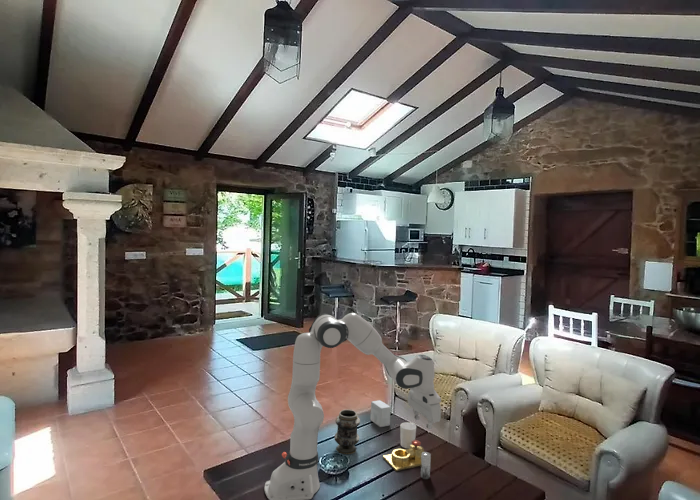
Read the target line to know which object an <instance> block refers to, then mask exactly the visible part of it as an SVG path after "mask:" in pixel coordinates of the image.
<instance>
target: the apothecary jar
mask: <svg viewBox="0 0 700 500" xmlns="http://www.w3.org/2000/svg"><path fill="white" fill-rule="evenodd" d="M335 424H336V425H337V430H336V431H337V432H336V433H334V437H333V438H334V441H335V443H336V444H337V446H336V448H335V450H336V451H337V452H338V453H340V454H342V455H353V454H355V453H356V452H357V447H356V445H357V444H358V443H359V442H360V436H359V434H358V426H360V424H361V419H360V418H359V416H358V413H357V412H356V411H355V410H353V409H342V410H341V411H339V414H338V415H337V416H336V418H335Z"/></svg>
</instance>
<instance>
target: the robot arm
mask: <svg viewBox="0 0 700 500" xmlns="http://www.w3.org/2000/svg"><path fill="white" fill-rule="evenodd" d="M346 341H348V342H350V343H351V344H352V345H353V346H354V347H355V348H356V349H357V350H359V352H361V353H363V354H364V355H367V356H370V355H373V356H374V357H375V358H376V359H377V360H378V361H379V362H380V363H382V365H383V366H384V368H385V372H386V373H387V375H388V376H389V377H390V378H391V379H392V380H393V381H394V383H395V384H396V385H397V386H398V387H399V388H400V389H404V390H407V389H409V391H408V397H407V404H408V406H409V407H411V408H412V411H413V415H414V419H415V420H416V421H419V420H420V416H422V417H424V418H425V419H427V422H428V423H426V428H427V430H432V428H433V424H434V423H439V422H440V421H441V416H442V413H441V412H442V409H441V404H440V403H441V402H442V397H441V396H440V395H439V394H438V392H437V391H436V390H435V383H434V379H435V362H434V359H432V358H431V357H430V356H428V355H425V354H416V355H415V357H413V358H412V359H411V360H409V361H407V360H406V359H405V358H403V357H402V356H400V355H396V354H394V353H393V352H391V350H389V349H388V347H386V346H385V344H384V343H383V338H382V337H381V335H380V333H379V332H378V331H377V329H376V328H375V327H374V326H372V324H371V323H370V322H368V321H367V320H366V319H365V318H363V317H362V316H361V315H359V314H357V313H356V312H350V313H347V314H346V315H344V316H343V317H342V318H340V319H337V318H336V317H335V316H334V315H333V314H330V313H326V312H325V313H321V314H319V315H317V316H316V317H315V318H314V320H313V322H312V323H311V325H310V326H309V329H308V332H303V333H300V334H299V335H297V337H296V338H295V342H294V347H293V354H292V355H293V356H292V376H291V384H290V387H289V388H290V389H289V392H288V395H287V405H288V408H289V410H290V411H291V413H292V415H293V422H294V423H293V427H292V428H293V429H292V431H291V432H290V444H289V445H290V448H289V449H290V450H289V452H288V453H287V452H286V451H283V452H282V453H281V457H282V458H283V459H285V460H284V462H283V463H282V464H280V465H279V466H278V467H277V468H275V469H274V470H273V471H272V472H271V476H270V480H266V481H265V484H264V488H263V490H264V494H265V495H266V497H267V499H268V500H311V499H312V498H314V495H315V494H316V493H317V492H318V491H319V489H320V487H321V483H320V481H319V475H318V473H319V472H318V465H319V452H318V440H319V439H318V438H319V431H320V426H321V425H322V424H323V422H324V418H325V414H324V413H325V412H324V410H323V406H322V404H321V403H320V402H319V400H318V399H317V397H316V388H317V386H318V383H319V381H320V375H321V374H320V373H321V353H322V348H323V347H324V348H328V349H334V348H336V347H338V346H340V345H341V344H342V343H344V342H346Z"/></svg>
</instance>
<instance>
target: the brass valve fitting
mask: <svg viewBox="0 0 700 500" xmlns="http://www.w3.org/2000/svg"><path fill="white" fill-rule="evenodd" d="M411 444H412V445H410V449H407V448H396V449H392V452H391V453H389V454H385V455H384V454H383V456H382V459H383V460H385V462H386V463H387V464H388V465H389V466H390V467H391V468H392V469H393V470H394V471H395V472H399V471H403V470H408V469H412V468H417V467H421V454H422V452H425V449H424V447H423V446H421V445H422V442H421V441H420V440H418V439H415V440H413V441H411Z"/></svg>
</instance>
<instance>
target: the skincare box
mask: <svg viewBox="0 0 700 500" xmlns="http://www.w3.org/2000/svg"><path fill="white" fill-rule="evenodd" d="M370 402H371V404H370V419H369V420H370V422H373V423H374V424H375V425H377V426H378V427H379V428H383V427H389V426H390V424H391V406H390V405H389V404H387V403H385V402H384V401H382V400H380V399H378V400H373V401H370Z"/></svg>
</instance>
